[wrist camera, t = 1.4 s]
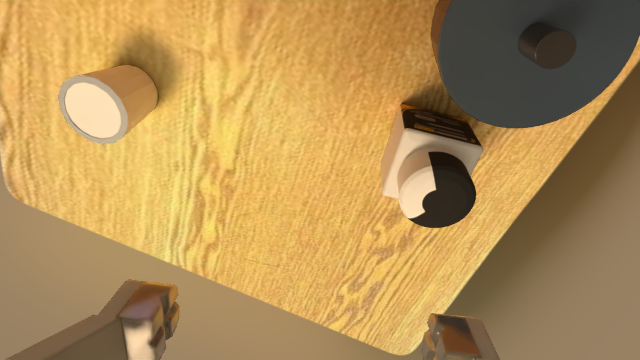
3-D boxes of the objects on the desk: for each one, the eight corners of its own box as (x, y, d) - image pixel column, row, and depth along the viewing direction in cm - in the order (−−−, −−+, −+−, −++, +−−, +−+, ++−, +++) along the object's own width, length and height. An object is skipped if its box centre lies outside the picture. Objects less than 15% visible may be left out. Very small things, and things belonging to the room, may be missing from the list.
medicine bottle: (467, 119, 38) (502, 176, 28) (441, 177, 42) (463, 247, 32) (400, 102, 38) (409, 153, 28) (380, 162, 42) (381, 226, 32)
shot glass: (175, 92, 41) (140, 114, 35) (143, 131, 44) (106, 157, 38) (122, 44, 39) (75, 59, 33) (93, 88, 42) (45, 109, 36)
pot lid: (457, -75, 25) (473, -83, 21) (673, -67, 24) (734, -73, 20) (421, 115, 32) (428, 138, 28) (588, 130, 31) (620, 155, 26)
